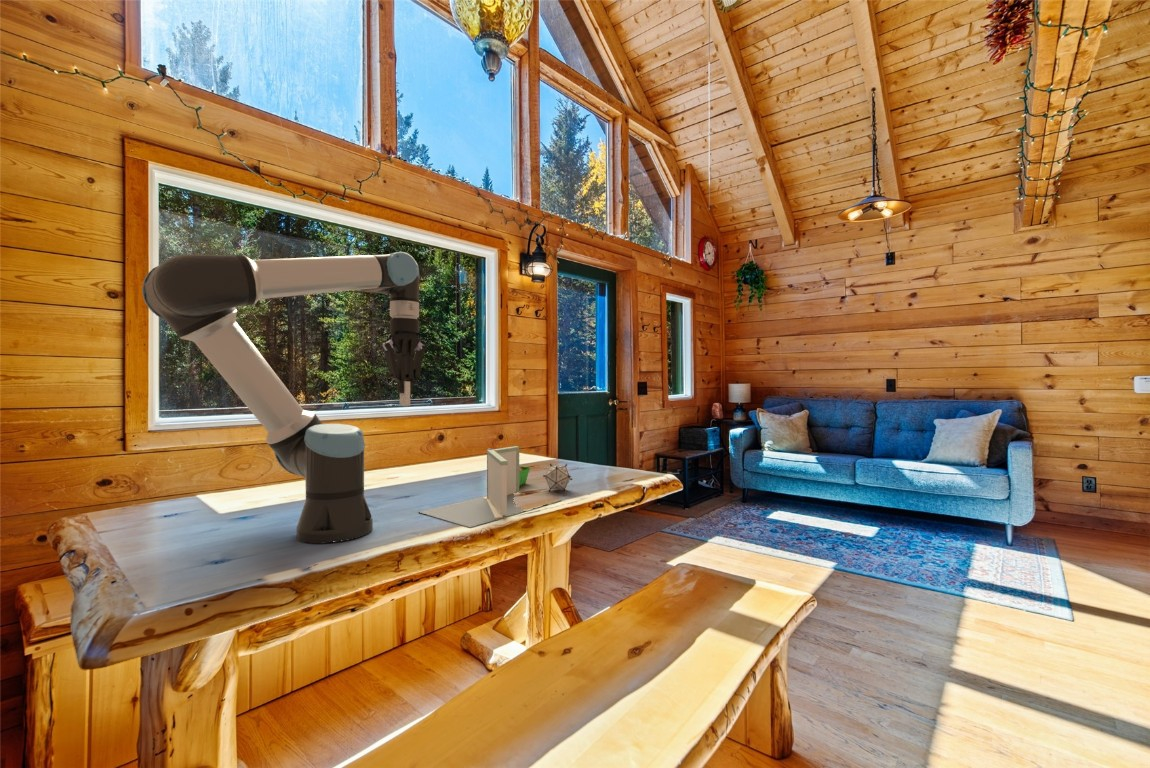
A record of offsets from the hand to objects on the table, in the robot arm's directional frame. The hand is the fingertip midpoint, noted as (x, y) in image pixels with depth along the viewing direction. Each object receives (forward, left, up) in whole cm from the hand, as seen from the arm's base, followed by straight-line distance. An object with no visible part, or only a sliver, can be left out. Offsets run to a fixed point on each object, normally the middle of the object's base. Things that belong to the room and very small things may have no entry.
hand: (404, 405), depth 139 cm
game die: (+37, -23, -27) cm, 51 cm away
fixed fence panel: (+23, -15, -26) cm, 38 cm away
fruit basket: (+33, -7, -27) cm, 43 cm away
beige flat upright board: (+12, -23, -26) cm, 37 cm away
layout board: (+12, -22, -26) cm, 36 cm away
